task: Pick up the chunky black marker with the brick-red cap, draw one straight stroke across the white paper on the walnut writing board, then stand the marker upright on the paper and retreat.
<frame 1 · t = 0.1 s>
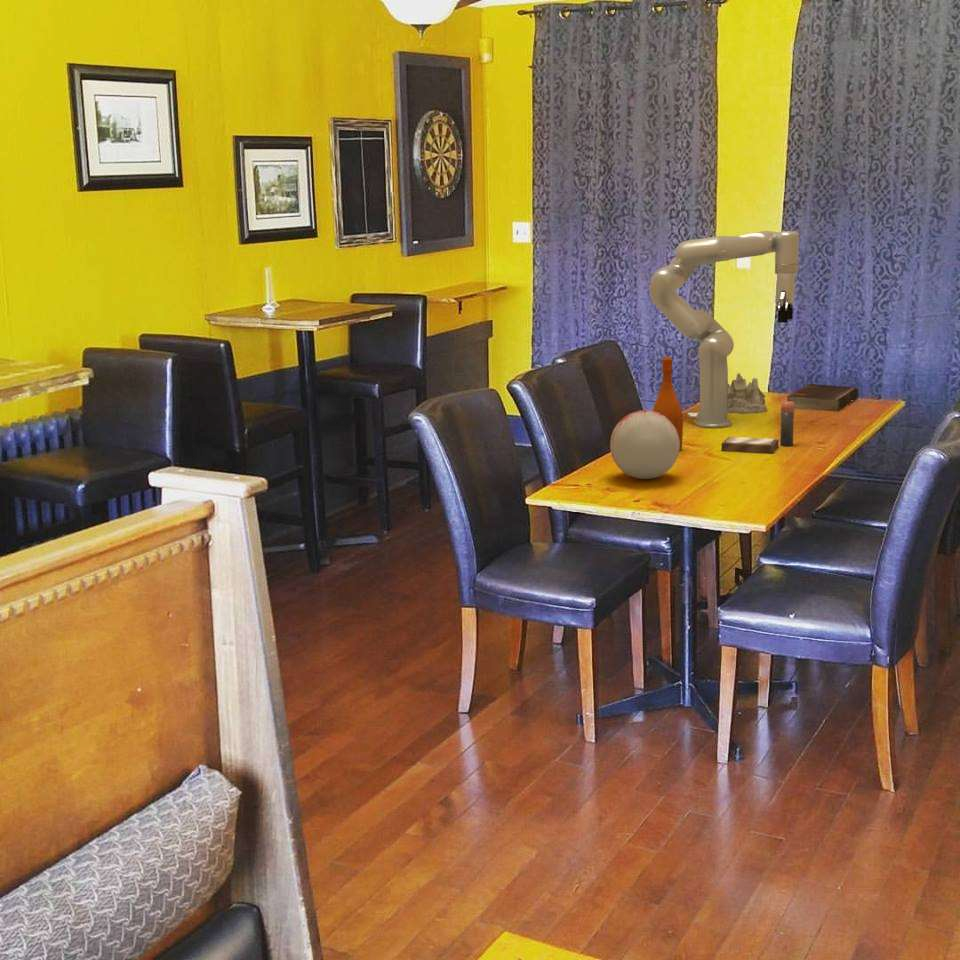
hand: (785, 320, 412), 37 cm above the table, tool pointing down, fingers open, 9 cm apart
writing pad: (750, 449, 391), on the table
miniature castle: (743, 410, 455), on the table
decorative orb: (645, 479, 358), on the table
hardback book: (823, 404, 463), on the table
wine bottle: (667, 450, 394), on the table
marker: (786, 445, 394), on the table
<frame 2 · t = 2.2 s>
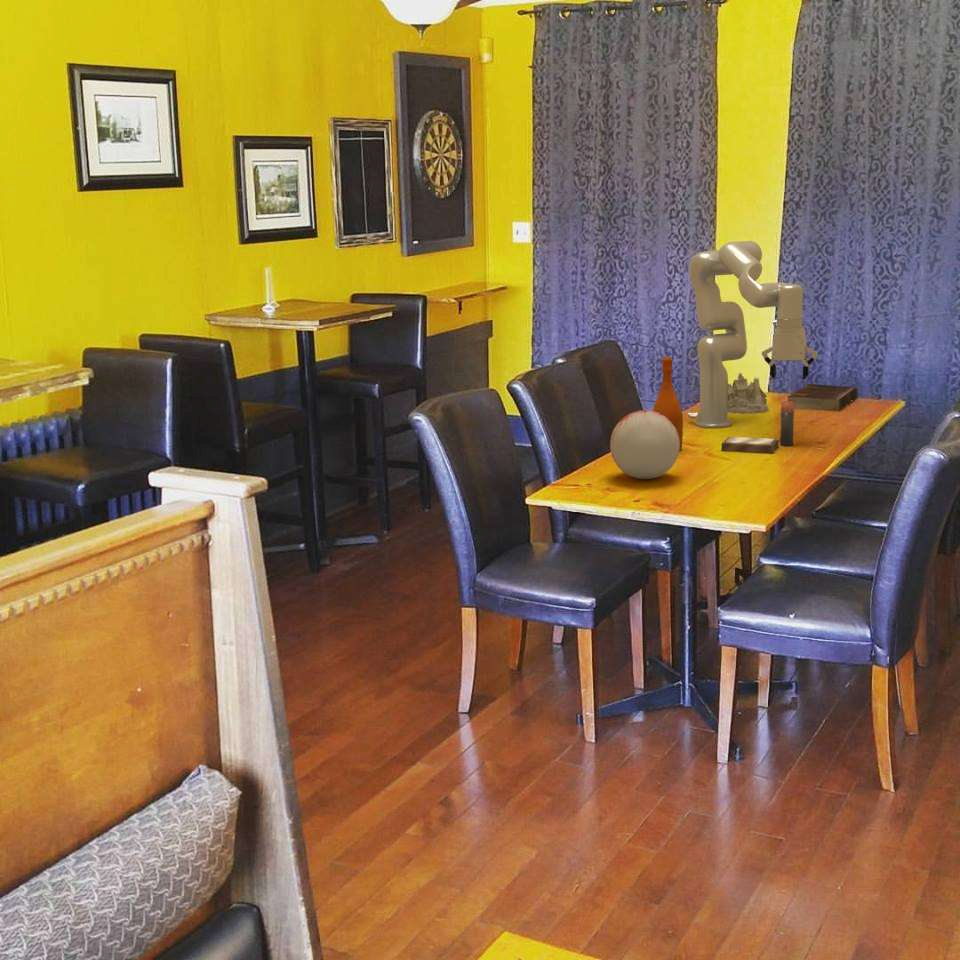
hand: (789, 378, 389), 22 cm above the table, tool pointing down, fingers open, 9 cm apart
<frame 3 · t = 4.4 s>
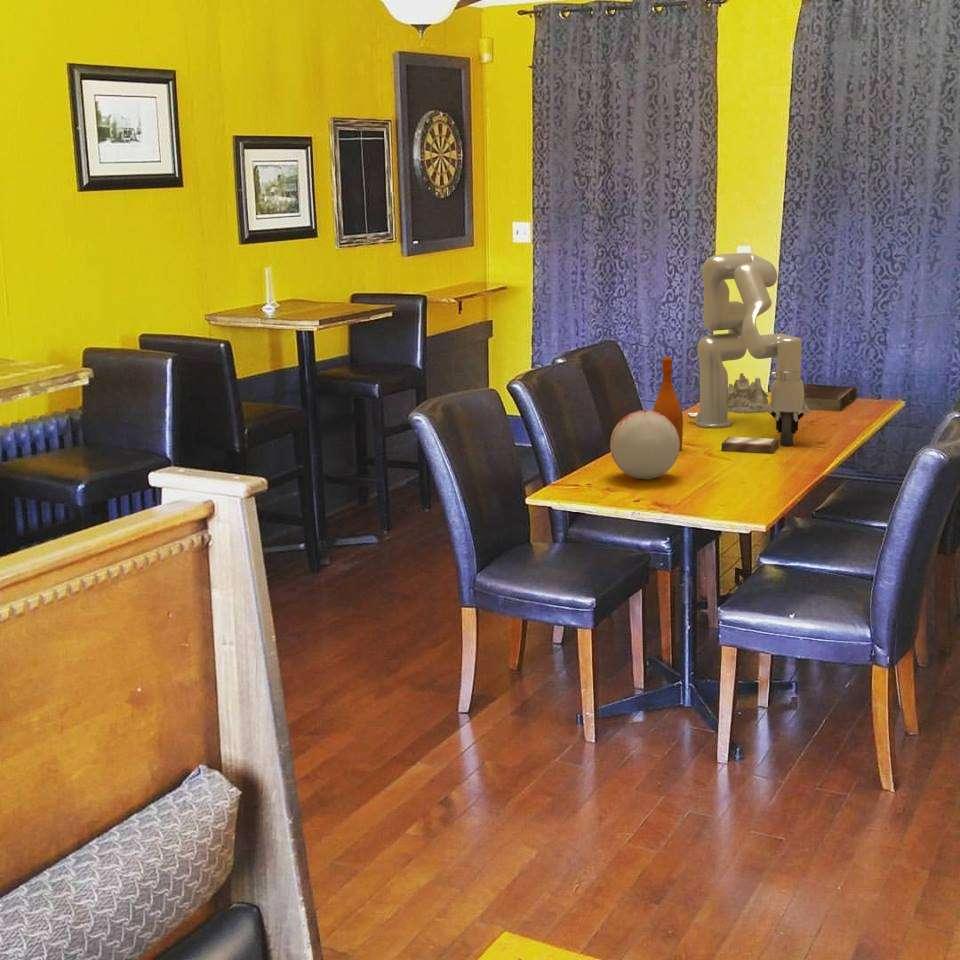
hand: (787, 432, 393), 4 cm above the table, tool pointing down, fingers closed on marker, 4 cm apart
marker: (786, 445, 394), on the table, touching gripper
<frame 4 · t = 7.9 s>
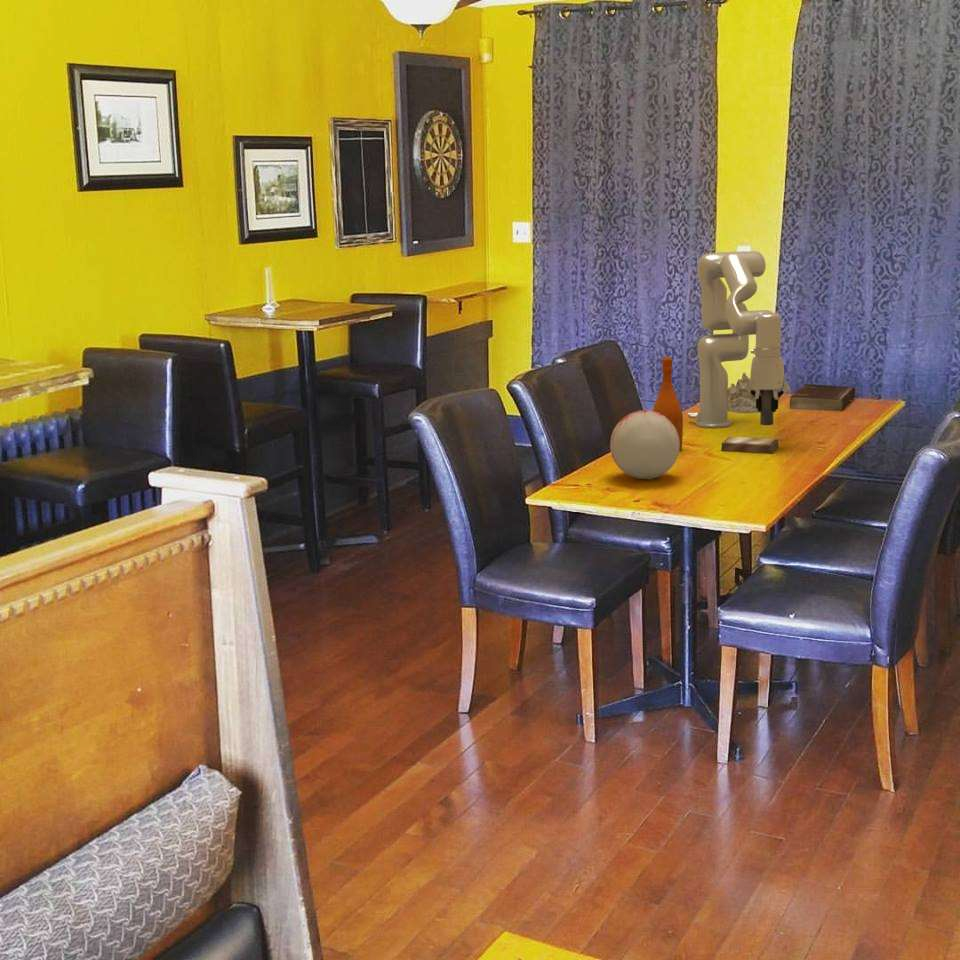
hand: (767, 410, 385), 13 cm above the table, tool pointing down, fingers closed on marker, 4 cm apart
marker: (766, 424, 386), point 8 cm above the table, touching gripper
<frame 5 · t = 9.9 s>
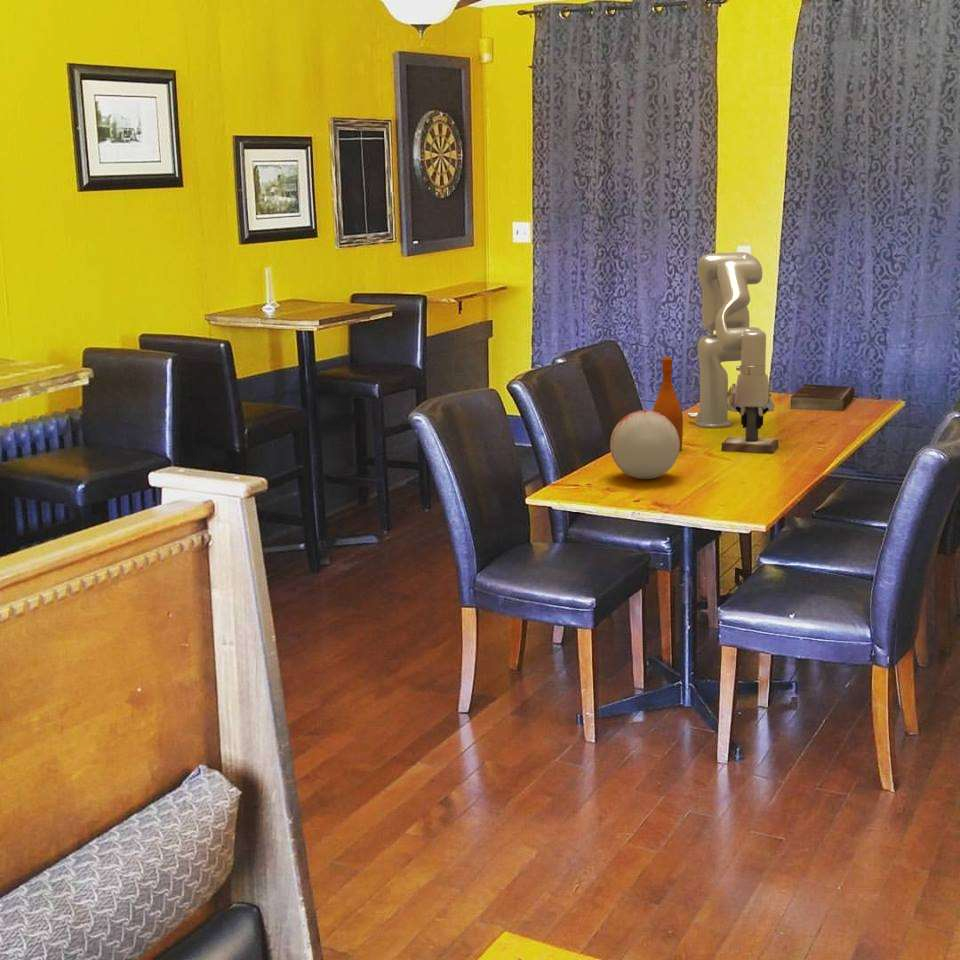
hand: (752, 427, 389), 7 cm above the table, tool pointing down, fingers closed on marker, 4 cm apart
marker: (751, 440, 390), point 3 cm above the table, touching gripper
when the fingers open (8 cm above the table, at t = 11.4 s): marker stays where it is, resting on writing pad.
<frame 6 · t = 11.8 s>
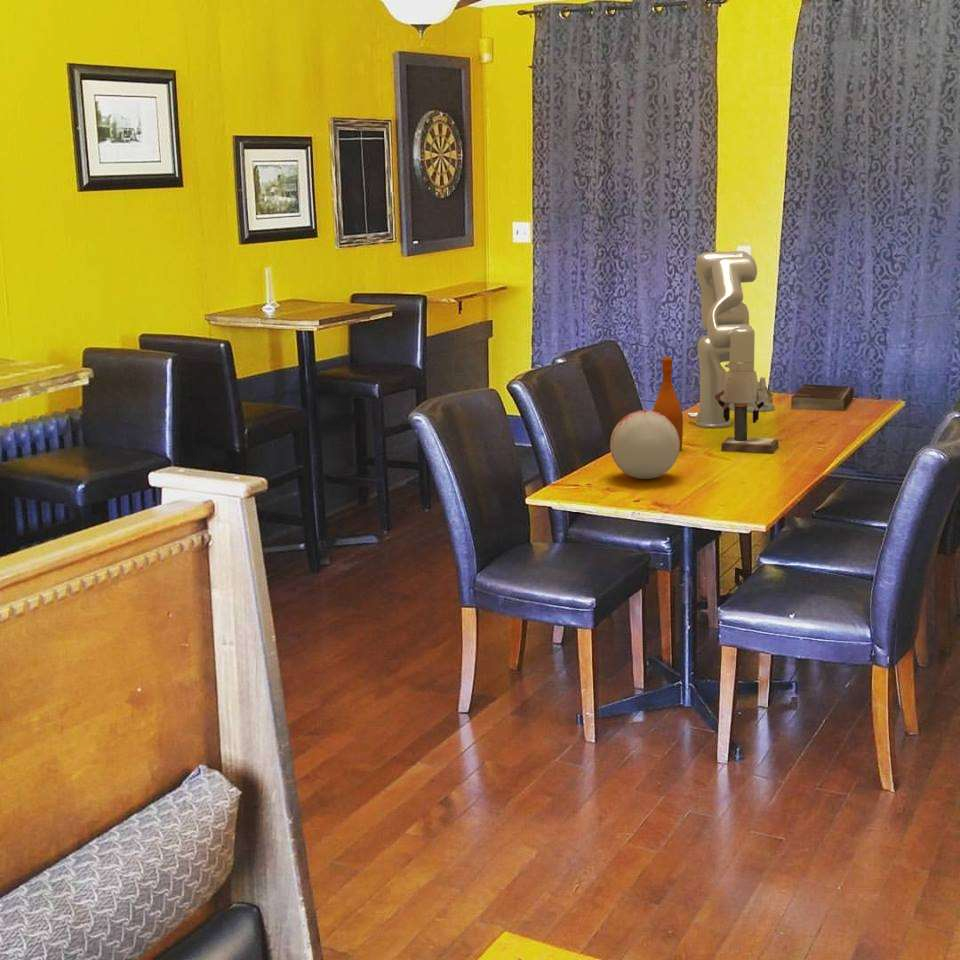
hand: (741, 421, 390), 9 cm above the table, tool pointing down, fingers open, 8 cm apart
marker: (740, 439, 391), point 3 cm above the table, touching writing pad
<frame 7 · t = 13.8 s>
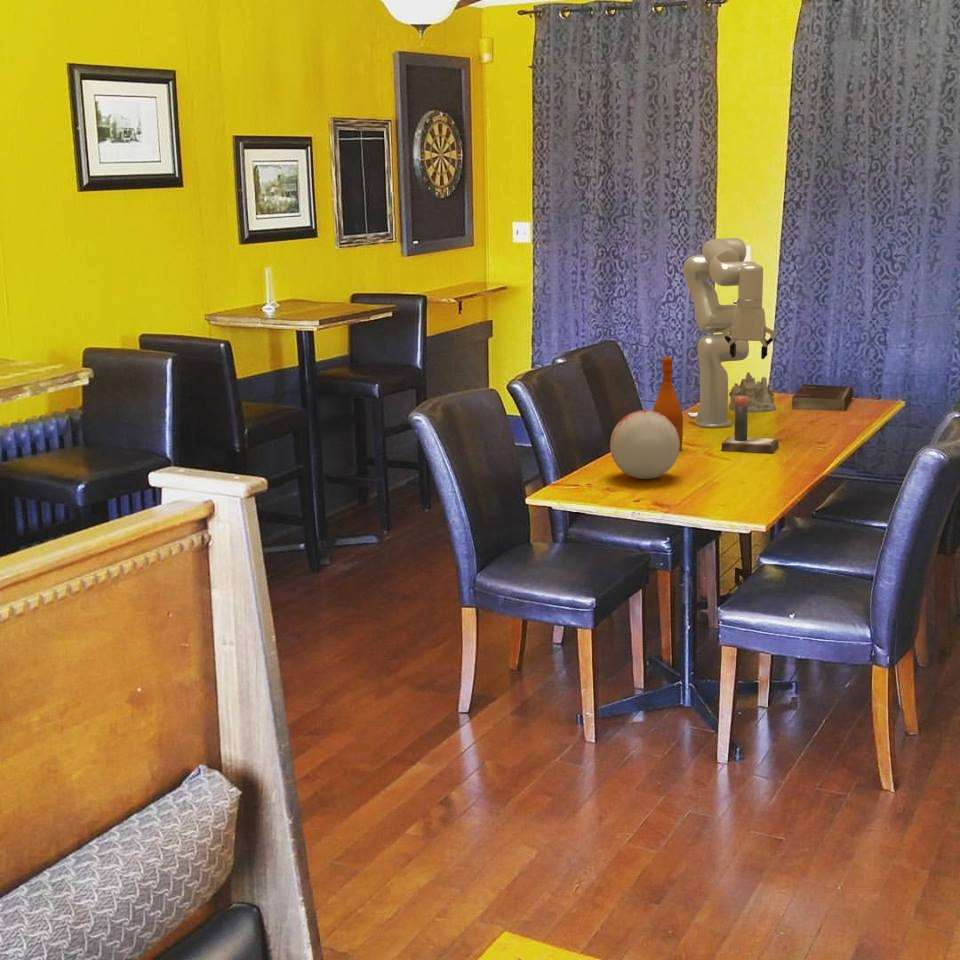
hand: (748, 357, 393), 28 cm above the table, tool pointing down, fingers open, 9 cm apart
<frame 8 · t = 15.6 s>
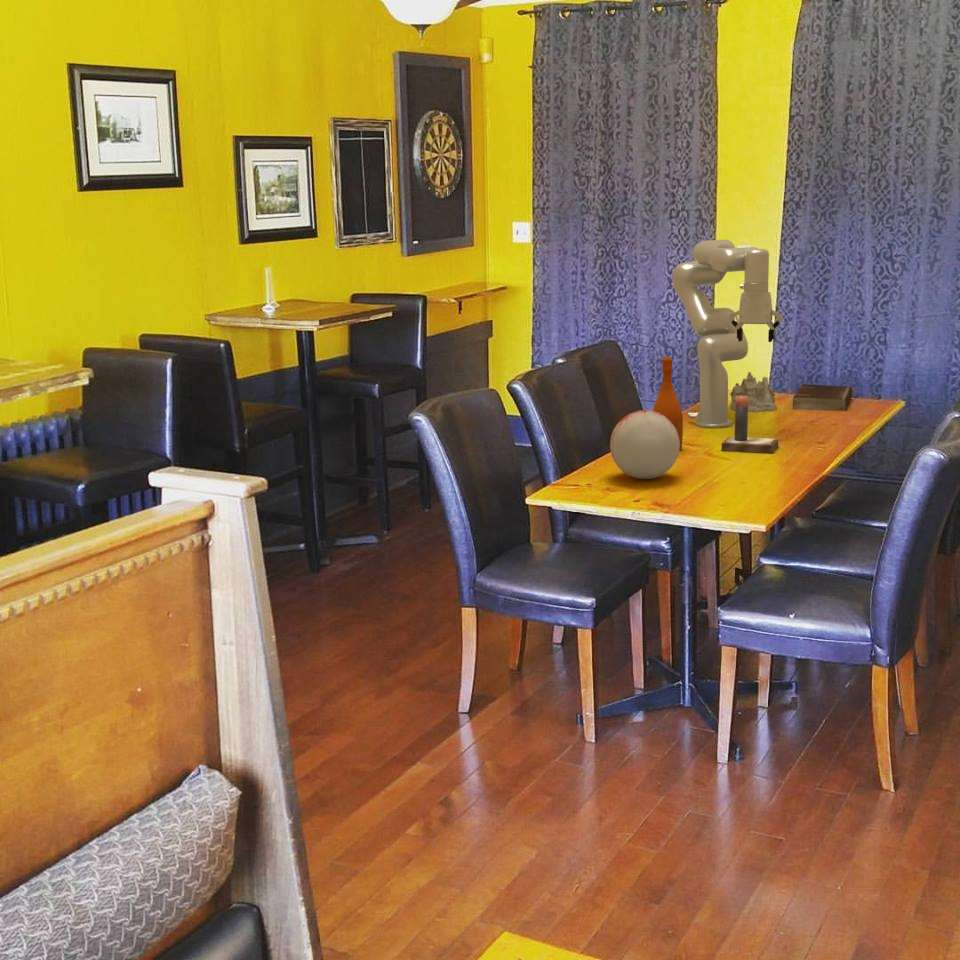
hand: (755, 341, 397), 32 cm above the table, tool pointing down, fingers open, 9 cm apart
at the end: marker inside the target area on the writing pad (3.0 cm from its centre), point 2.8 cm above the writing pad's base; marker tilted 1°; the gripper is holding nothing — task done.
